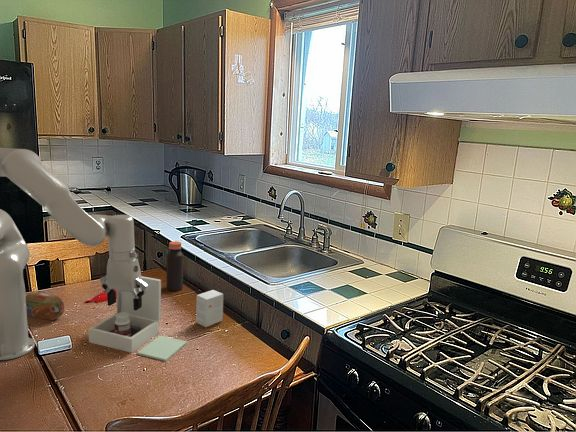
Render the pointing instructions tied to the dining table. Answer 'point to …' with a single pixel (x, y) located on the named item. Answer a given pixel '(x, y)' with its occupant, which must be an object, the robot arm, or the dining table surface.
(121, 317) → the pill bottle
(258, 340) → the dining table surface
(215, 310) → the small box
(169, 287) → the vinegar
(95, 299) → the cloth
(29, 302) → the tin
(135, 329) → the equipment case
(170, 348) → the mat
